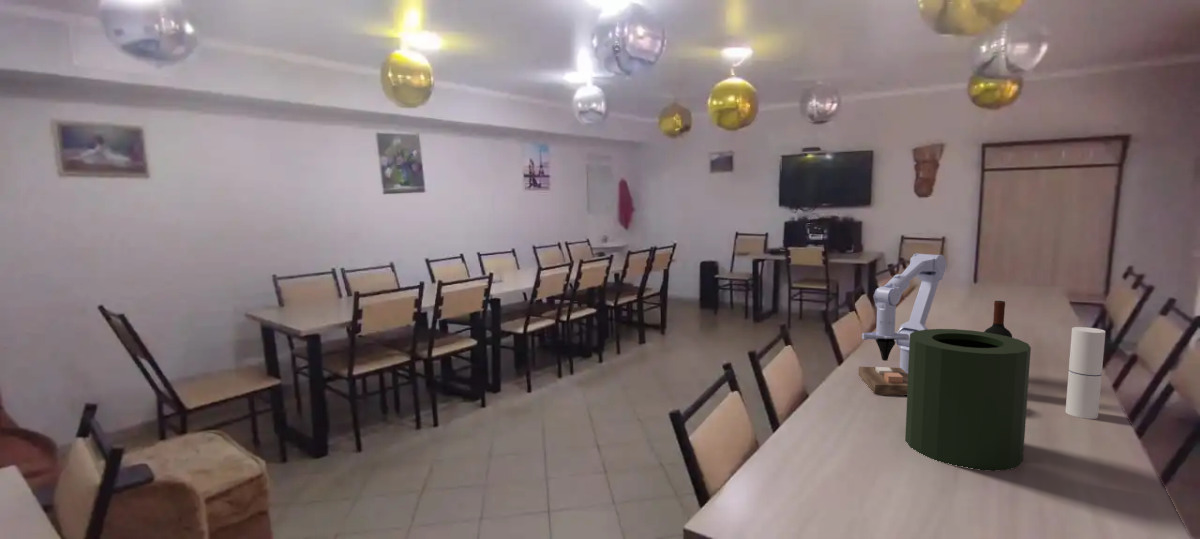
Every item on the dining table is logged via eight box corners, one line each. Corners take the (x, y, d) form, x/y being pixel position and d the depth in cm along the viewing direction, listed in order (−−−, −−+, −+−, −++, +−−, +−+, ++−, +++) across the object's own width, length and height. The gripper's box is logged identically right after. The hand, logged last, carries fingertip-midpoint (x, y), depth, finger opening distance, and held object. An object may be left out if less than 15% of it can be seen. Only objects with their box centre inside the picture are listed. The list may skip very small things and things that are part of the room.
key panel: (900, 377, 197) (900, 367, 196) (921, 396, 177) (922, 386, 177) (858, 375, 199) (858, 366, 199) (874, 394, 180) (875, 384, 180)
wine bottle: (999, 388, 183) (1005, 299, 179) (1014, 396, 175) (1020, 303, 172) (975, 388, 184) (980, 299, 180) (988, 396, 176) (994, 303, 173)
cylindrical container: (1069, 416, 159) (1076, 331, 156) (1062, 408, 165) (1068, 326, 162) (1101, 420, 155) (1109, 333, 152) (1093, 411, 162) (1100, 328, 159)
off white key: (888, 376, 195) (888, 367, 194) (892, 380, 191) (892, 371, 190) (875, 375, 196) (875, 366, 195) (878, 379, 191) (879, 370, 191)
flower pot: (966, 477, 126) (973, 358, 122) (882, 434, 150) (886, 333, 147) (1049, 461, 132) (1058, 347, 129) (956, 422, 156) (961, 325, 153)
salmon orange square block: (898, 382, 185) (898, 372, 185) (902, 386, 181) (903, 376, 180) (884, 381, 186) (884, 372, 185) (888, 385, 182) (888, 376, 181)
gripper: (866, 323, 188) (865, 362, 190) (912, 324, 185) (911, 363, 187) (861, 319, 195) (859, 356, 197) (905, 319, 192) (904, 357, 194)
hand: (884, 359), depth 192 cm, fingers closed
